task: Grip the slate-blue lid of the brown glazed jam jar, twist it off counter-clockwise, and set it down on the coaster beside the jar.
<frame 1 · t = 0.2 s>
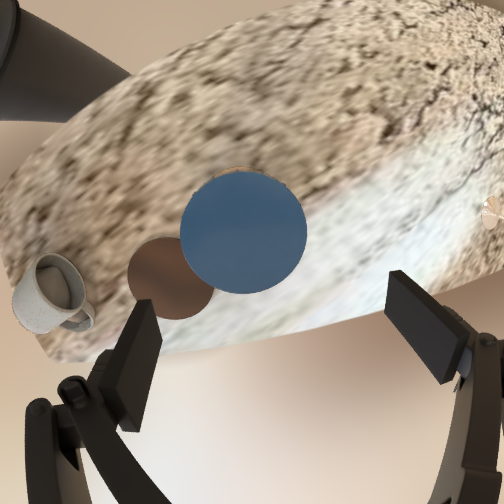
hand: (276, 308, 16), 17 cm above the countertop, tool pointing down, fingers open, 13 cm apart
jar lid: (243, 234, 21), point 11 cm above the countertop, screwed on, not yet turned
ceramic mug: (67, 289, 33), on the countertop
wineglass: (490, 213, 33), on the countertop
coaster: (170, 280, 33), on the countertop
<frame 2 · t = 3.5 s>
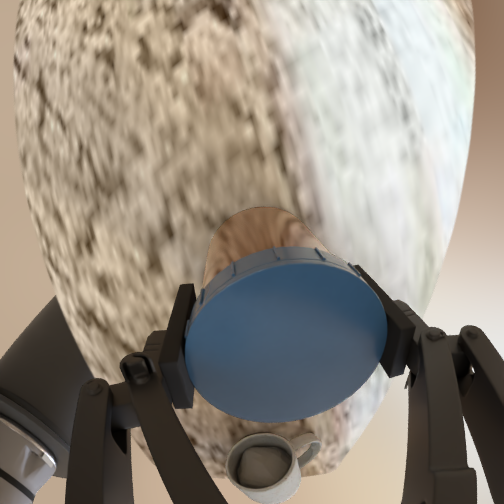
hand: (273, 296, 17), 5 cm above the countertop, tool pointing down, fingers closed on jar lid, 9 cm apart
jar lid: (289, 354, 12), point 11 cm above the countertop, screwed on, not yet turned, touching gripper
ceramic mug: (273, 444, 31), on the countertop
jam jar: (262, 260, 22), on the countertop
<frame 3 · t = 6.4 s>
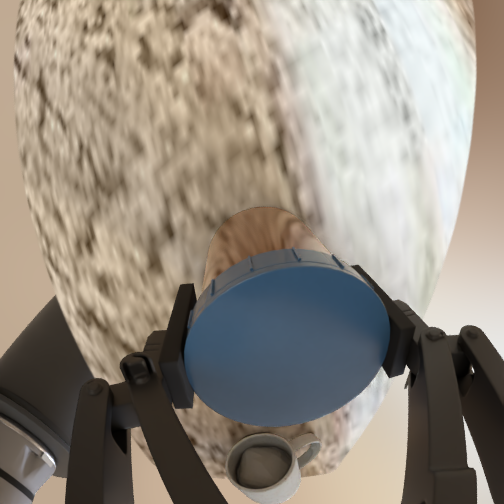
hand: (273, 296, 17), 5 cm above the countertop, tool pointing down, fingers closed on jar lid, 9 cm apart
jar lid: (291, 358, 12), point 11 cm above the countertop, turned 81° so far, risen 0.2 cm, still on its thread, touching gripper
ceramic mug: (273, 444, 31), on the countertop
jam jar: (262, 260, 22), on the countertop
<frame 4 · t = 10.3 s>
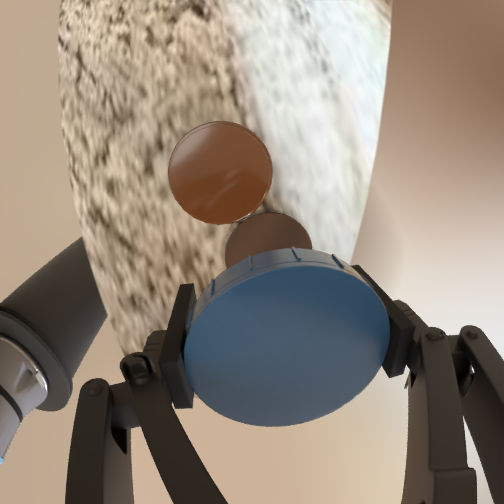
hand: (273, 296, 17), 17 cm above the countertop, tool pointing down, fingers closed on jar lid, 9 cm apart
jar lid: (291, 358, 12), point 23 cm above the countertop, off its thread, touching gripper
coaster: (269, 255, 34), on the countertop
jam jar: (222, 165, 31), on the countertop
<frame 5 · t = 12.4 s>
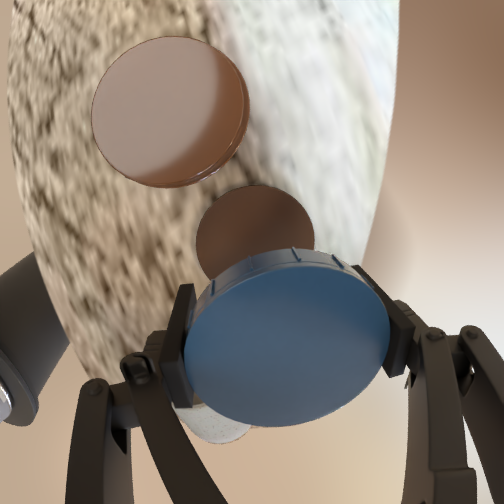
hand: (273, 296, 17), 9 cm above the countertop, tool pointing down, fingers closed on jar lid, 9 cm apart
jar lid: (291, 358, 12), point 15 cm above the countertop, off its thread, touching gripper
ceramic mug: (224, 369, 30), on the countertop
coaster: (255, 244, 25), on the countertop
jam jar: (190, 122, 22), on the countertop
when the fingers open (2 cm above the countertop, at t = 14.3 s): jar lid drops 5 cm, resting on coaster.
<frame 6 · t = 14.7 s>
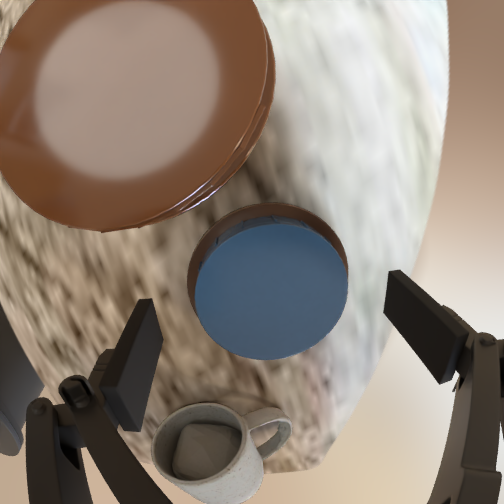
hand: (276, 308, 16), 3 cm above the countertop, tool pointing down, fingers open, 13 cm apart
jar lid: (273, 297, 17), point 2 cm above the countertop, off its thread, touching coaster
ceramic mug: (227, 422, 23), on the countertop
coaster: (269, 283, 19), on the countertop
jam jar: (176, 112, 15), on the countertop
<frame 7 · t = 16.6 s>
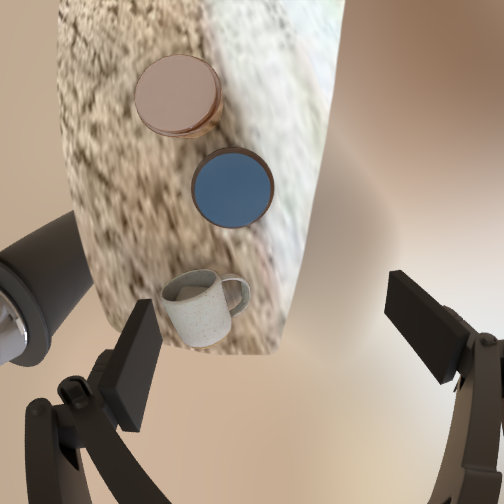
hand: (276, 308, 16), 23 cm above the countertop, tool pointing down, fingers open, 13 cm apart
jar lid: (232, 190, 34), point 2 cm above the countertop, off its thread, touching coaster
ceramic mug: (209, 291, 41), on the countertop
coaster: (232, 188, 36), on the countertop
jam jar: (189, 106, 32), on the countertop
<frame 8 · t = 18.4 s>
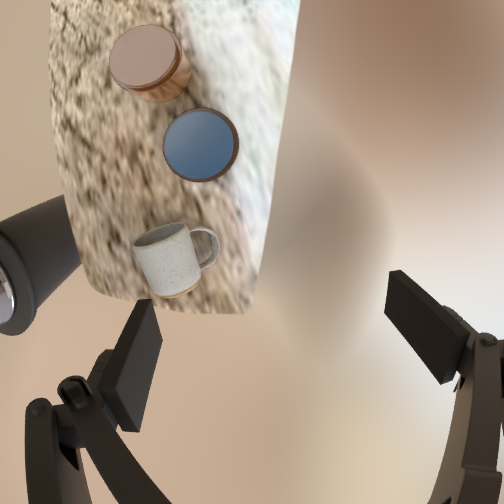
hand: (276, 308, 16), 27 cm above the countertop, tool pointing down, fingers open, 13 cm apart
jar lid: (198, 144, 36), point 2 cm above the countertop, off its thread, touching coaster
ceramic mug: (181, 245, 42), on the countertop
coaster: (200, 144, 37), on the countertop
jam jar: (162, 75, 33), on the countertop
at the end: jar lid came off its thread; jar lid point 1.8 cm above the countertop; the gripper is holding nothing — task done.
